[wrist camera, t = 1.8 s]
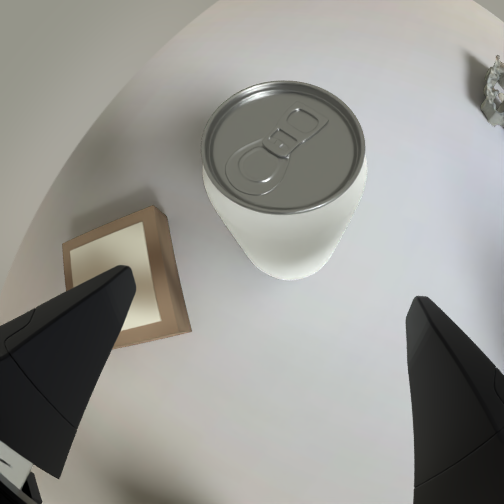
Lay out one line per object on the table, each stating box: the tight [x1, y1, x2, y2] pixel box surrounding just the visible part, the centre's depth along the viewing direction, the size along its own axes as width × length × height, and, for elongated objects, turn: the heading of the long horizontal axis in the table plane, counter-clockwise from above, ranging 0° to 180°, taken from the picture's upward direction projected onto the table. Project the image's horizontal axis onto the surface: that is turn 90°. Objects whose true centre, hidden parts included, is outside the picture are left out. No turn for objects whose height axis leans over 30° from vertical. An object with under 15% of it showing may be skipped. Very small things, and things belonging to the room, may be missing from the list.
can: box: [201, 81, 367, 280], centre depth 15 cm, size 6×6×12 cm
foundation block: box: [62, 205, 192, 349], centre depth 20 cm, size 9×9×3 cm
